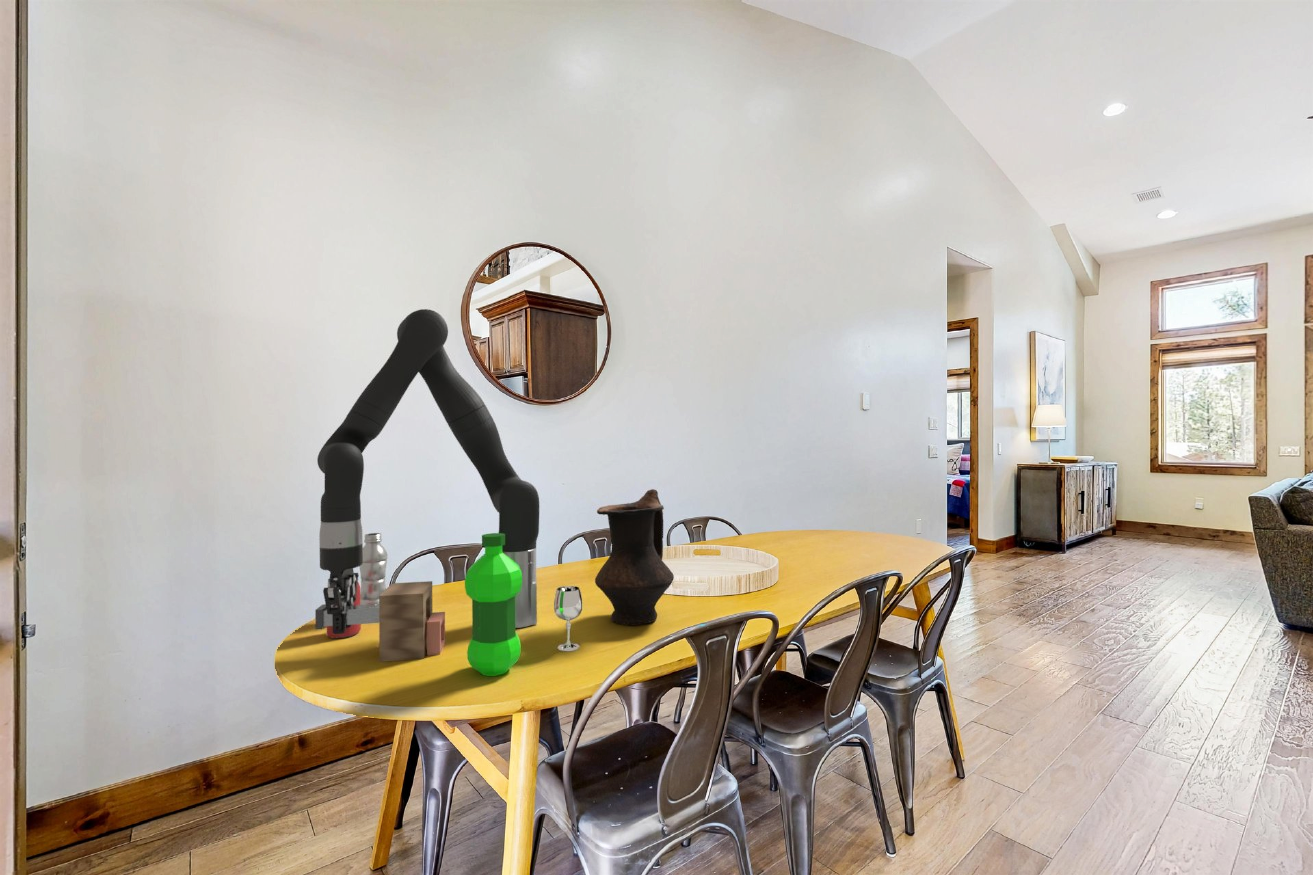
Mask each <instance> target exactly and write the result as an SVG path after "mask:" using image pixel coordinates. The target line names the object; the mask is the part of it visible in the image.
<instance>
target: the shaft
mask: <svg viewBox="0 0 1313 875" xmlns="http://www.w3.org/2000/svg"><path fill="white" fill-rule="evenodd" d="M335 607H337V606H335ZM314 618H315V619H314V620H315V630H323V629H324V628H325V627H327V626H333V623H332V615H331V614H327V609H326V604H321V605H320V606H319V607H317V608H316V609H315V617H314ZM354 624H361V625H365V624H366V625H367V624H368V625H369V624H379V604H366V605H349V606H346V625H354Z"/></svg>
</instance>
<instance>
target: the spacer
mask: <svg viewBox="0 0 1313 875" xmlns="http://www.w3.org/2000/svg"><path fill="white" fill-rule="evenodd" d="M445 644H446V612H445V611H439V612H432V615H431V617H430V618H429V620H428V621H427V653H426V655H427V656H439V655H441V653H442V652H443V648H444V647H445Z"/></svg>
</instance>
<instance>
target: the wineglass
mask: <svg viewBox="0 0 1313 875" xmlns="http://www.w3.org/2000/svg"><path fill="white" fill-rule="evenodd" d="M555 590H556V591H555V593H554V601H553V610H554V614H555V616H556V617H557V618H558V619H560V620H562V621H566V623H565V628H566V631H567V632H566V633H567V636H566V638H567V639H566V642H565V643H561V644H559V645H558V646H557V650H558V651H560V652H574V651H576V650H578V649H579V648H580V645H579V644H578V643H572V642H571V640H570V631H571V626H572V624H571V621H573V620H575V619H577V618H578V617H579V616H580V615H581V614H582V611H583V597H582V592H581V588H580V587H579V586H575V585H563V586H560V587H557V588H556V589H555Z"/></svg>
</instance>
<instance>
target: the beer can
mask: <svg viewBox="0 0 1313 875" xmlns="http://www.w3.org/2000/svg"><path fill="white" fill-rule="evenodd" d="M360 594H361V584H360V583H359V582H358V584H357V593H356V601H355V602H353V604H354V605H360ZM335 606H337V605H335ZM361 625H362V624H354V625H351V626H350V627H349V628H346V631H345V632H344V633H343V634H333V626H326V635H327V637H329V638H330V639H331V638H332V639H346V638H351V637H352V636H353V637H354V636H356V635H358V634H359V633H360V631H361V629H362V628H361Z"/></svg>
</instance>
